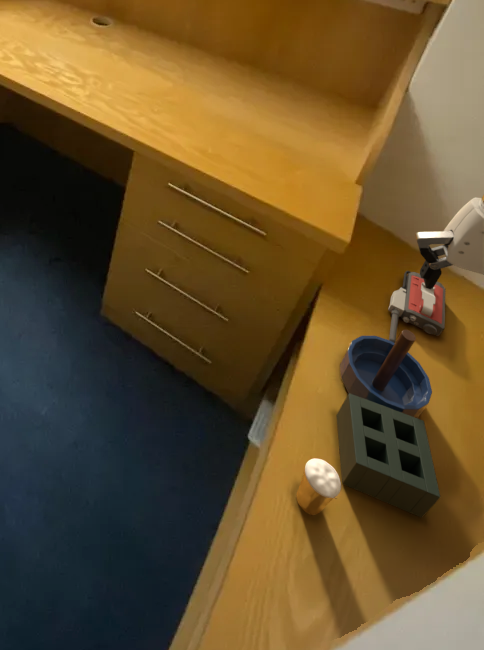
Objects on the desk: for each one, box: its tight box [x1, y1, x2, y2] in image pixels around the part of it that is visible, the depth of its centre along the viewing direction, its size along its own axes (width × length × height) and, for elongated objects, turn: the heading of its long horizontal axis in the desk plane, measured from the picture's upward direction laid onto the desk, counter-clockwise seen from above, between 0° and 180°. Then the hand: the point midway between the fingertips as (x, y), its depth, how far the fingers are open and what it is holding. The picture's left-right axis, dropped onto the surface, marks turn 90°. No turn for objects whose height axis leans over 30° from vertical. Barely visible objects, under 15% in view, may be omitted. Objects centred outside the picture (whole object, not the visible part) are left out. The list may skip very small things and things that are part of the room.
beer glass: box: [295, 457, 342, 516], centre depth 73 cm, size 5×5×10 cm
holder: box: [336, 393, 441, 518], centre depth 78 cm, size 10×10×7 cm
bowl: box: [339, 335, 433, 419], centre depth 88 cm, size 12×12×6 cm
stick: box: [372, 329, 417, 391], centre depth 86 cm, size 2×2×15 cm
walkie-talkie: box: [387, 270, 447, 343], centre depth 100 cm, size 9×4×20 cm
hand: (465, 292), depth 75 cm, fingers open, 9 cm apart
